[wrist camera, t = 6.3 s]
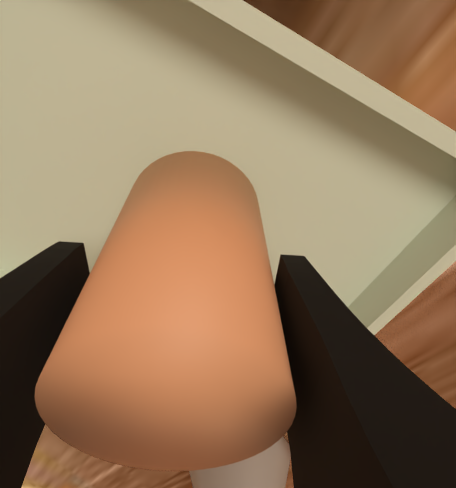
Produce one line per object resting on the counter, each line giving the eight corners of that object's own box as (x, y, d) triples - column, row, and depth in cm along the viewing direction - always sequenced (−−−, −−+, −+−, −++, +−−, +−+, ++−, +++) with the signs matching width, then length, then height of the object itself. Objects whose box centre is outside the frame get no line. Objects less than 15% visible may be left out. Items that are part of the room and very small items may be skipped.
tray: (483, 153, 11) (539, 183, 9) (292, 355, 18) (301, 401, 15) (-31, -163, 7) (-130, -230, 5) (-48, 242, 14) (-98, 284, 11)
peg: (265, 153, 10) (319, 332, 5) (253, 265, 13) (279, 471, 7) (120, 148, 10) (-7, 327, 5) (137, 263, 13) (68, 471, 7)
